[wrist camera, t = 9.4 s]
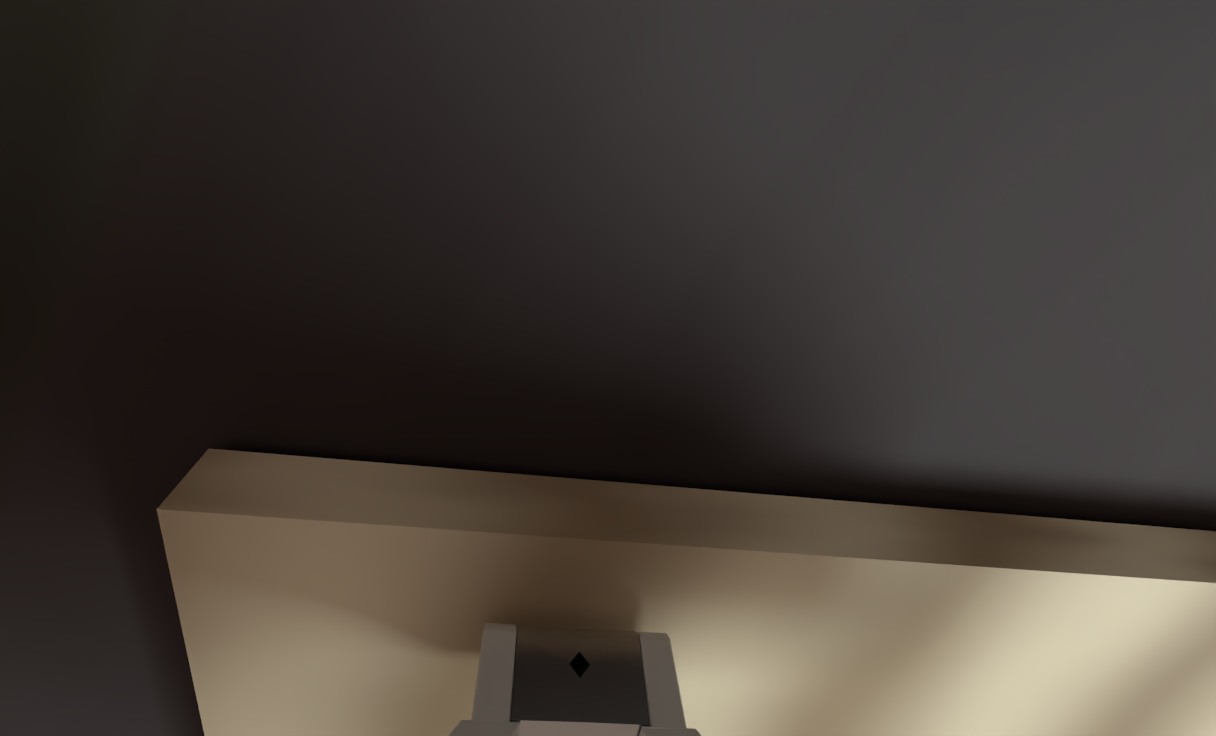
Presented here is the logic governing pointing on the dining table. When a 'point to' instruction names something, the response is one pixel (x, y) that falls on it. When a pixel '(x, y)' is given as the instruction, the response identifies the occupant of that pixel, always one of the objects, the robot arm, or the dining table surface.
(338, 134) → the dining table surface
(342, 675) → the loose plank
